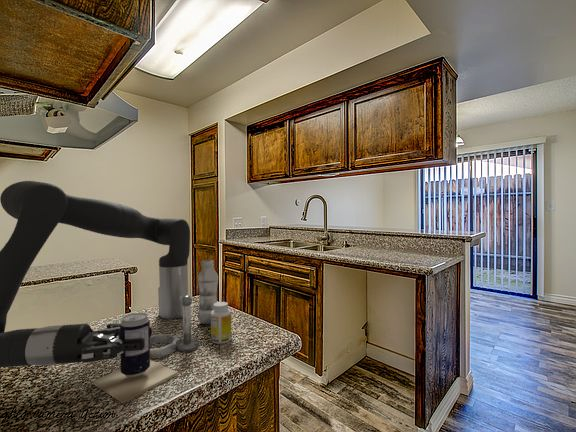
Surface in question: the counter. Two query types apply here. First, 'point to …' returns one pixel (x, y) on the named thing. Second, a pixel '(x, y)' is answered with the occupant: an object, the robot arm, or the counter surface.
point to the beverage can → (133, 329)
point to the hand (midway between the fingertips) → (147, 337)
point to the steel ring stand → (174, 345)
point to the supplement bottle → (220, 323)
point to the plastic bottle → (207, 291)
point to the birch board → (134, 382)
